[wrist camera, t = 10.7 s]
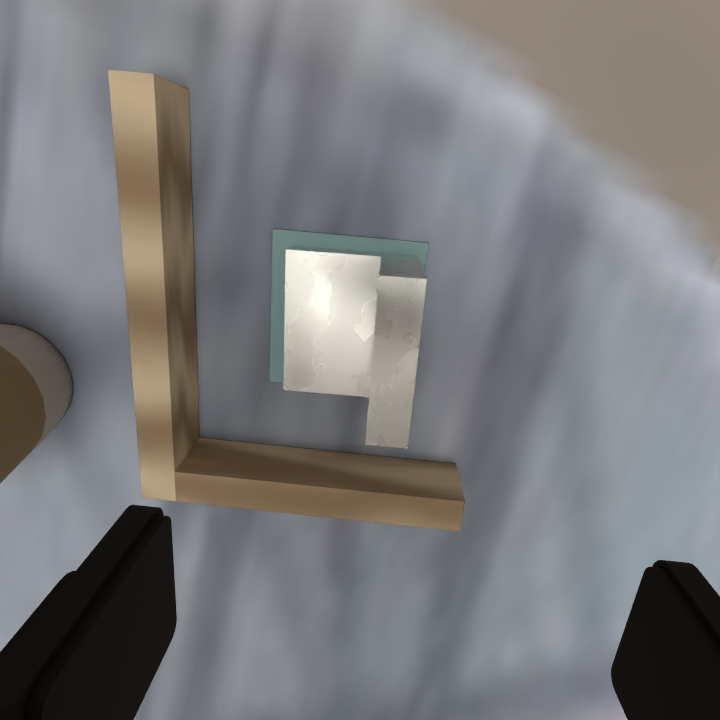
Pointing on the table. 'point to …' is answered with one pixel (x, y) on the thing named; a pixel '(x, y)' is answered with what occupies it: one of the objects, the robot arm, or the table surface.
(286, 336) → the bracket
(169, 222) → the wooden l-shaped piece
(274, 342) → the teal square plate
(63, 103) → the table surface
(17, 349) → the coffee cup
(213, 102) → the table surface
